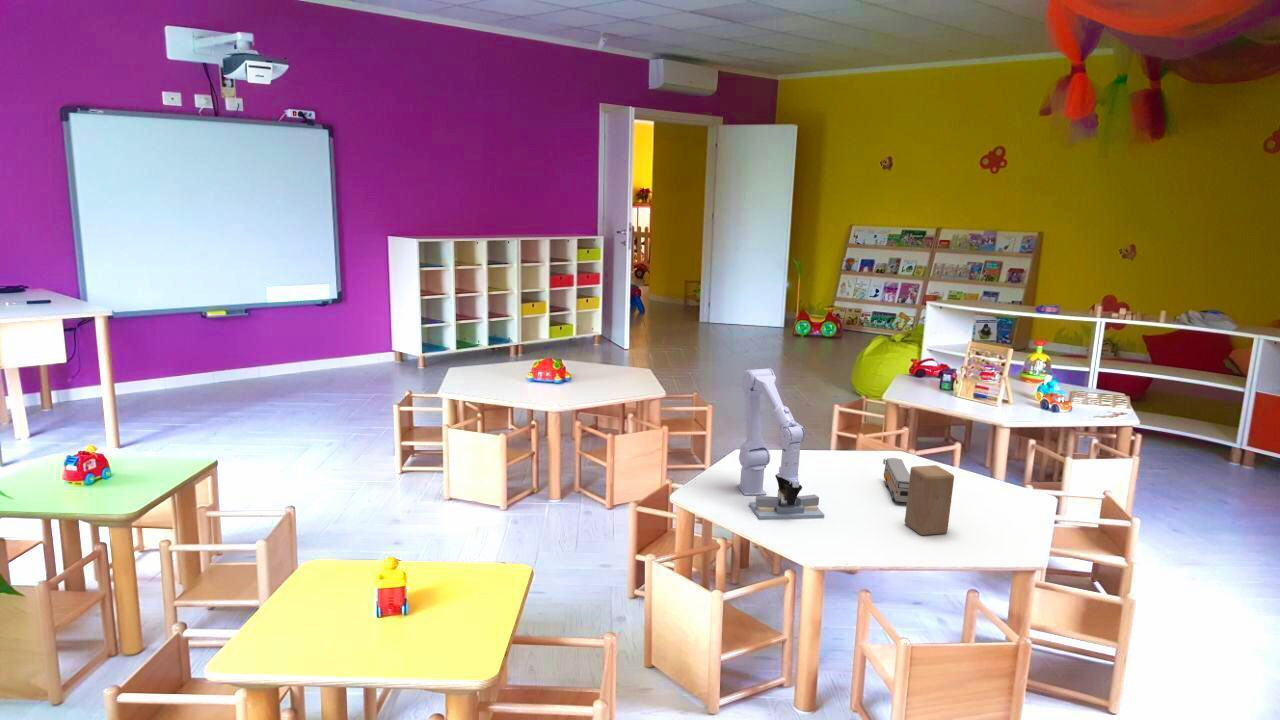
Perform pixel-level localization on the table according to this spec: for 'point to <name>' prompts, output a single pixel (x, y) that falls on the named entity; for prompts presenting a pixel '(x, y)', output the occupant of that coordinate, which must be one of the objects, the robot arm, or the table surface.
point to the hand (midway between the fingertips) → (786, 500)
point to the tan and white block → (783, 498)
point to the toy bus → (896, 479)
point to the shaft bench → (786, 508)
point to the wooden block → (929, 499)
